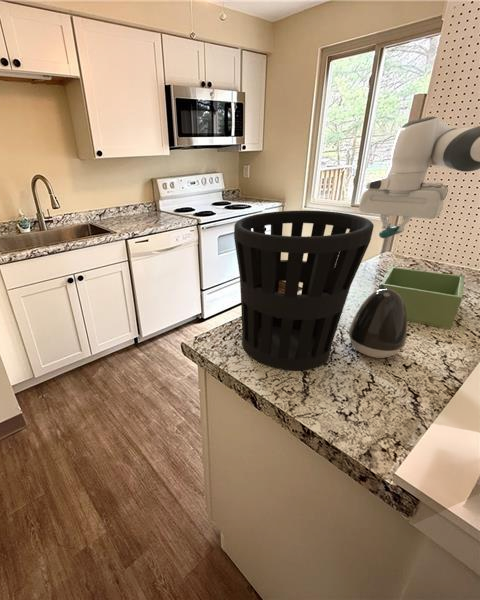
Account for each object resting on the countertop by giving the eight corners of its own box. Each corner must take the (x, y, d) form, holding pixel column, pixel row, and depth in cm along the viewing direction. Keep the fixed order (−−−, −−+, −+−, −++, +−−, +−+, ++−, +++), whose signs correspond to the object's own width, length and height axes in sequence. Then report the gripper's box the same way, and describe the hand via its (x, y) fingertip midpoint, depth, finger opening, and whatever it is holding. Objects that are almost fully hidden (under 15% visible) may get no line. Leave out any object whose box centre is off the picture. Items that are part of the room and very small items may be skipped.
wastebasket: (363, 345, 72) (396, 215, 60) (308, 397, 59) (335, 246, 47) (267, 311, 91) (276, 207, 78) (209, 345, 78) (209, 227, 65)
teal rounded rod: (394, 227, 99) (402, 222, 97) (399, 233, 98) (407, 228, 96) (375, 234, 95) (383, 229, 93) (380, 240, 94) (388, 235, 92)
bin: (384, 292, 95) (391, 266, 91) (453, 305, 85) (464, 276, 81) (372, 312, 85) (380, 284, 81) (450, 329, 75) (462, 297, 71)
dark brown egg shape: (393, 341, 73) (411, 282, 66) (406, 368, 64) (428, 303, 58) (343, 335, 77) (355, 278, 70) (348, 359, 68) (363, 298, 62)
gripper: (455, 181, 82) (439, 233, 88) (372, 180, 99) (363, 223, 105) (444, 184, 80) (428, 237, 86) (361, 183, 96) (352, 227, 102)
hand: (392, 229), depth 95 cm, fingers closed on teal rounded rod, 2 cm apart
